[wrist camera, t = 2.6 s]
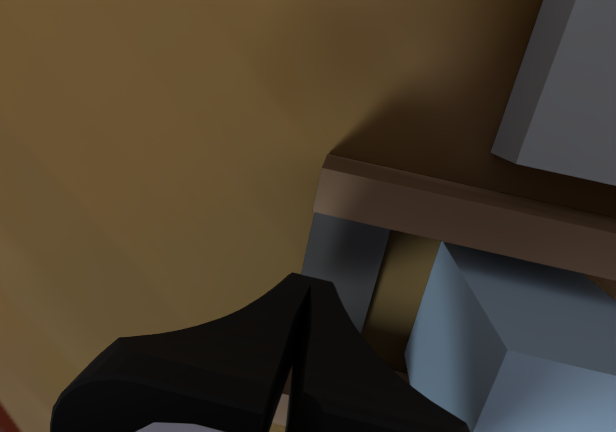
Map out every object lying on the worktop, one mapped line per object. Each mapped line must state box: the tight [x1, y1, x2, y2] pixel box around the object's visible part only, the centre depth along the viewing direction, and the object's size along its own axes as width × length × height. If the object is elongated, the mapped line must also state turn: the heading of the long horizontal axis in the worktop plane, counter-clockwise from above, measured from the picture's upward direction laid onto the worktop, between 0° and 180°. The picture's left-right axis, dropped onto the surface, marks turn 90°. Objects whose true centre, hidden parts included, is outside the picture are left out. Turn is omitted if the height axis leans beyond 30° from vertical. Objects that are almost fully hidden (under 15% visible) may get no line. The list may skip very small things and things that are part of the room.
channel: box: [272, 154, 616, 426], centre depth 13 cm, size 8×10×2 cm
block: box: [404, 241, 616, 432], centre depth 11 cm, size 4×4×6 cm
